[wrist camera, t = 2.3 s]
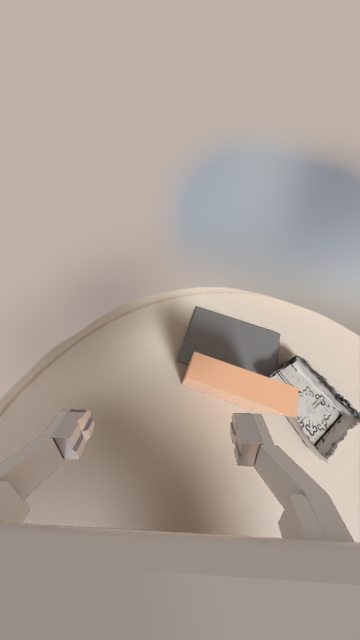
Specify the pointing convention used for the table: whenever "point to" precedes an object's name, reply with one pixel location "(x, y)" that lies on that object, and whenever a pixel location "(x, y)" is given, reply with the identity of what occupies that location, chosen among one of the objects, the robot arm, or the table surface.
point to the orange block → (240, 386)
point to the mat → (231, 342)
